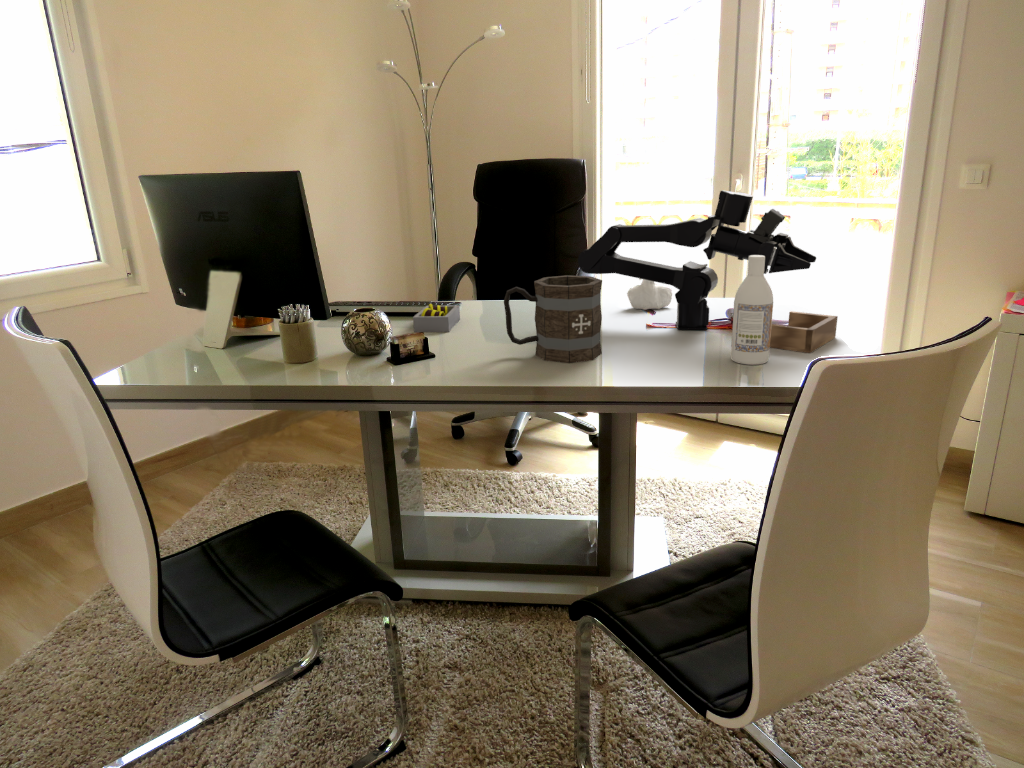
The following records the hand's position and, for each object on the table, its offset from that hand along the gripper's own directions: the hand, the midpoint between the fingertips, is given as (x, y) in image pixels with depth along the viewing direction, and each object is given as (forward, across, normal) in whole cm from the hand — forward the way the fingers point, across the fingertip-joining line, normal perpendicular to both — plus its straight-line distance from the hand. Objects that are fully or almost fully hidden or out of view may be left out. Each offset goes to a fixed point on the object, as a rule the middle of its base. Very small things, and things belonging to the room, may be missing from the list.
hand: (812, 262), depth 151 cm
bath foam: (-4, -23, +17) cm, 29 cm away
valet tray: (-76, -20, +34) cm, 85 cm away
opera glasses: (-76, -20, +34) cm, 86 cm away
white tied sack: (-36, +18, +25) cm, 48 cm away
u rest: (+2, -5, +16) cm, 17 cm away
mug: (-40, -33, +25) cm, 58 cm away
